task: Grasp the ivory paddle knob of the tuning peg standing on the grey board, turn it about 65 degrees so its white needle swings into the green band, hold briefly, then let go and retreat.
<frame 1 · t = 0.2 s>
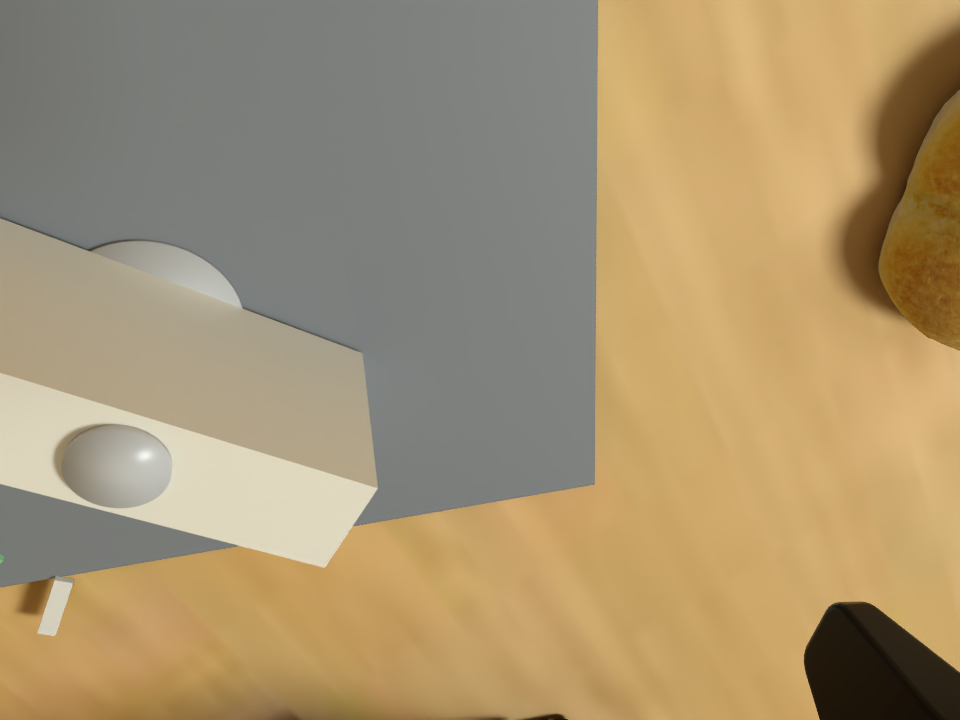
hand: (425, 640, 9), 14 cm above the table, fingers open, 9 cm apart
grey board: (152, 308, 22), on the table
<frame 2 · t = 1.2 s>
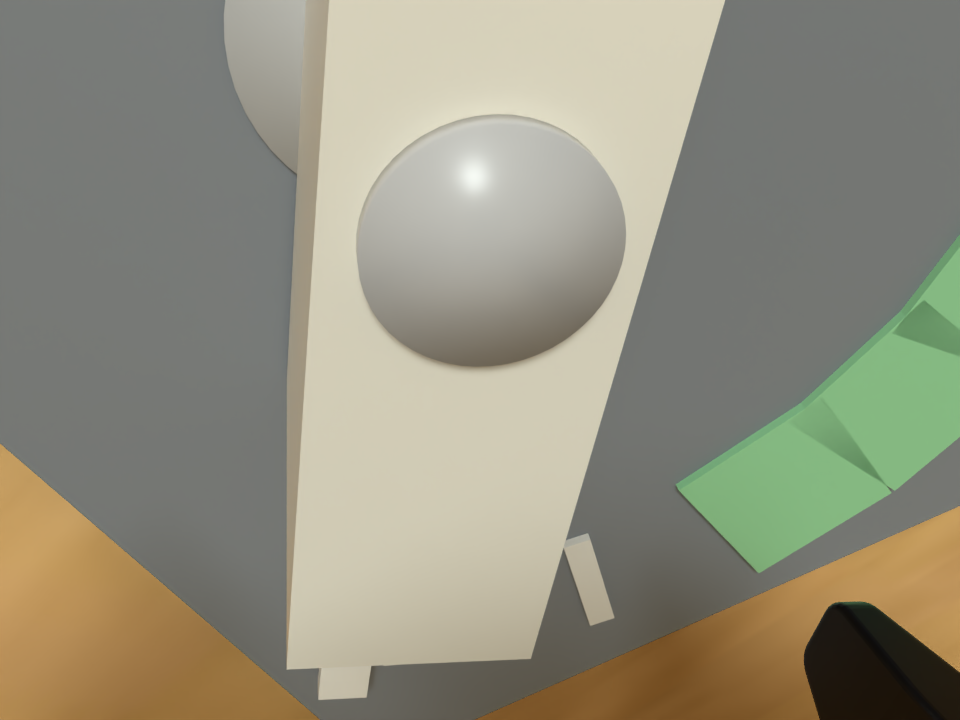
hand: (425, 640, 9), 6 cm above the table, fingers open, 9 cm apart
grey board: (409, 27, 11), on the table
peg: (404, 411, 11), point 3 cm above the table, hinge at -35.0°
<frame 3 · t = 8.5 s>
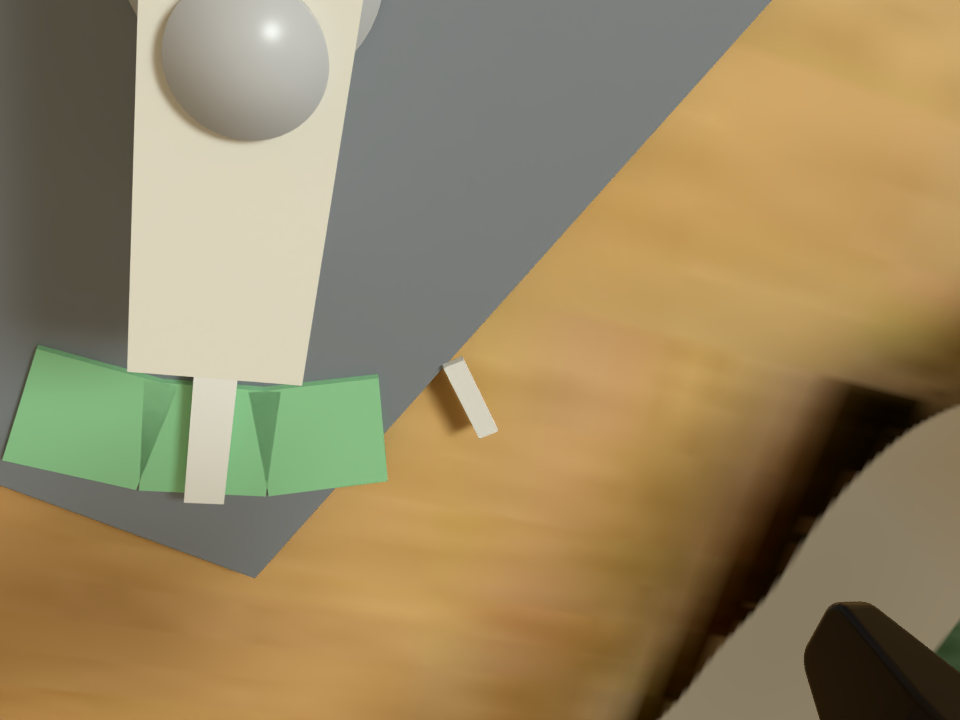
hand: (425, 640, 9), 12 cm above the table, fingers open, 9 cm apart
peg: (231, 220, 15), point 3 cm above the table, hinge at 26.1°
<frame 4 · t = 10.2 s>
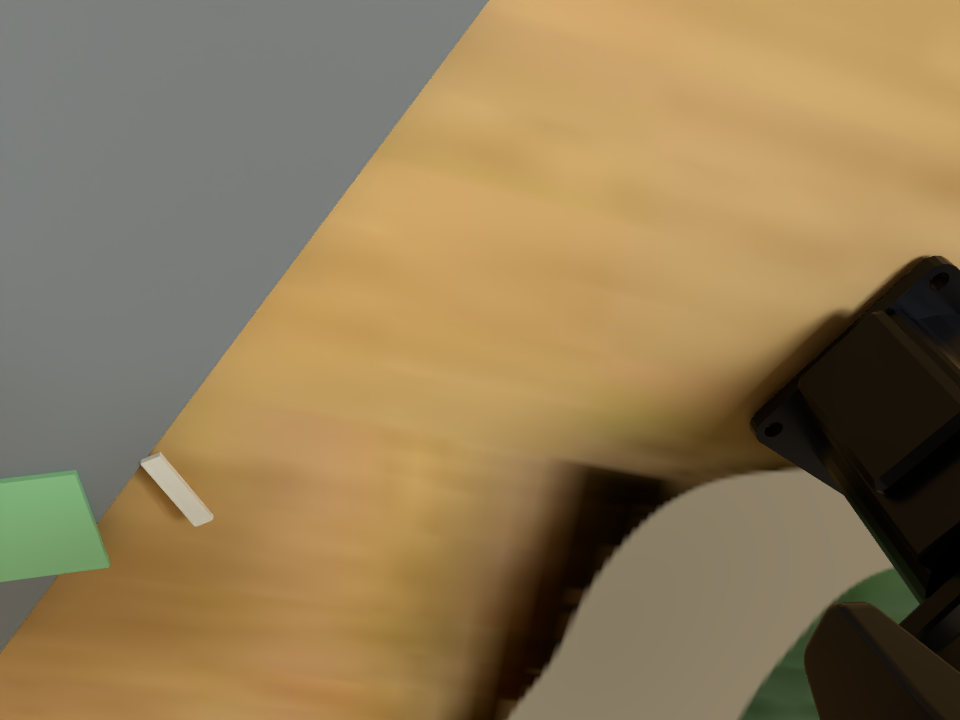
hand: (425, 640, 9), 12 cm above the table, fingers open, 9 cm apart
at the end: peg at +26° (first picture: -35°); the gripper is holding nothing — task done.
